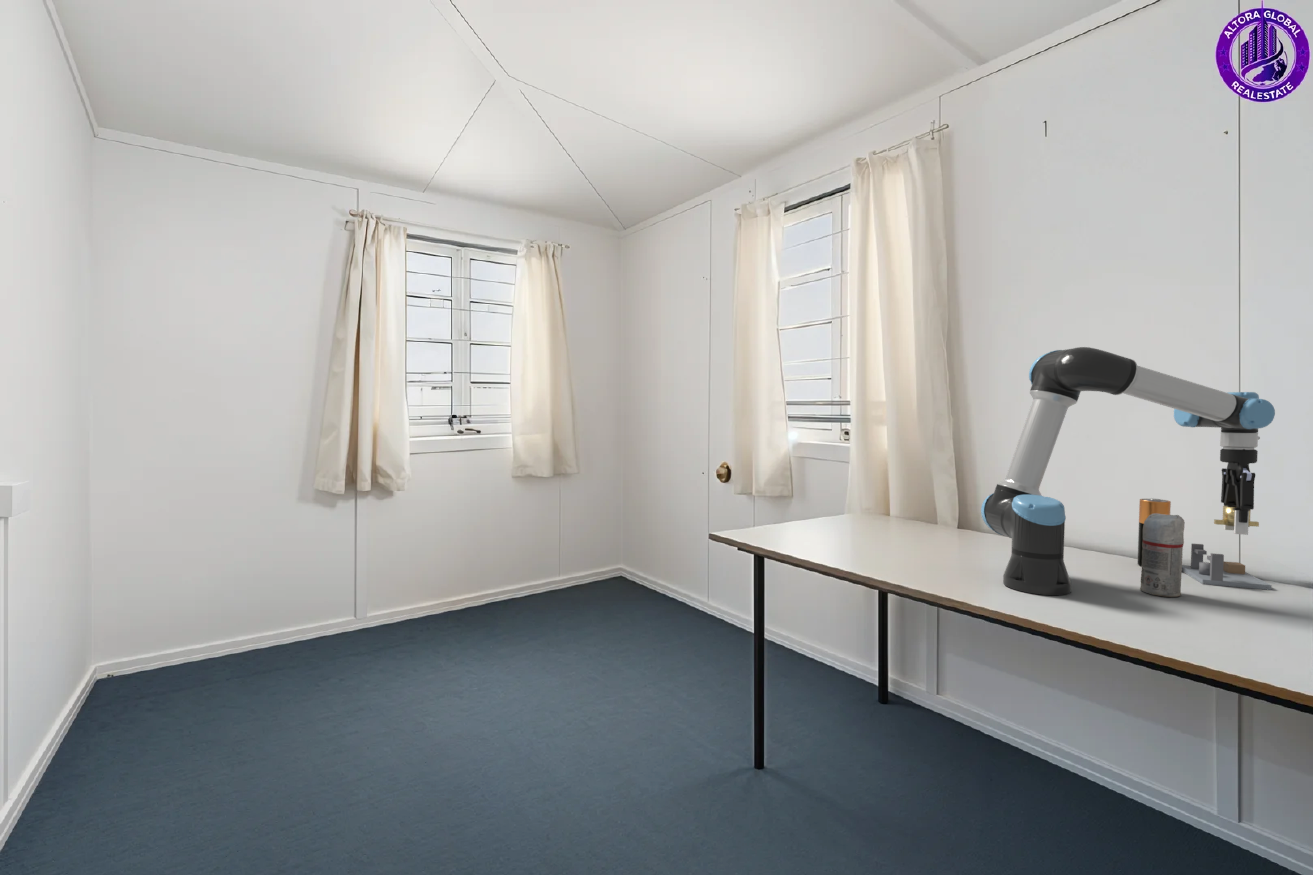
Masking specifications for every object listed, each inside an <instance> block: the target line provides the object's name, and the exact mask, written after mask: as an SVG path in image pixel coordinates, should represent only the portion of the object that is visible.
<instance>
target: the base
mask: <svg viewBox="0 0 1313 875" xmlns="http://www.w3.org/2000/svg"><path fill="white" fill-rule="evenodd" d="M1190 549H1191V552H1190V565H1188V564H1187V565H1185V564H1182V572H1183V573H1184V572H1185V574H1186V575H1187V574H1188V576H1189V577H1191V578H1192V579H1194V580H1195V581H1197V582H1199V583H1200V584H1202V585H1209V586H1221V587H1223V586H1224V587H1233V588H1244V589H1245V588H1247V589H1254V590H1255V589H1256V590H1266V589H1267V591H1271V590H1272V584H1270V583H1267V582H1266V581H1265V580H1262V579H1260V578H1258V577H1255V576H1254V575H1252V574H1250V573H1249V572H1247V571H1246V565H1245V564H1243V563H1242V562H1239V561H1238V562H1237V561H1225V560H1224V559H1225V554H1223V553H1213V552H1211V553H1210V555H1208V554H1207V553H1208V552H1207V550H1206V549H1204V544H1203V543H1191V547H1190ZM1204 555H1205V556H1206V560H1208V561H1210V562H1206V561H1204Z"/></svg>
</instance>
